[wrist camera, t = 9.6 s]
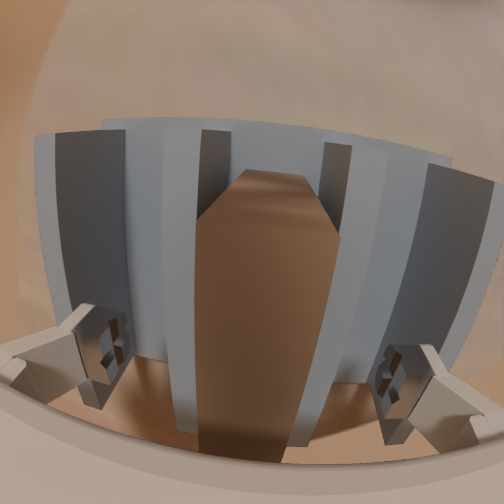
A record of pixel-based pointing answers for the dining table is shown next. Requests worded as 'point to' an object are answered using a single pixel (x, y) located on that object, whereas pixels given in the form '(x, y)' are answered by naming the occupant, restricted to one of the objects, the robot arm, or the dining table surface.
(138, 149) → the rack
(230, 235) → the board
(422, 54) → the dining table surface
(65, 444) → the robot arm
